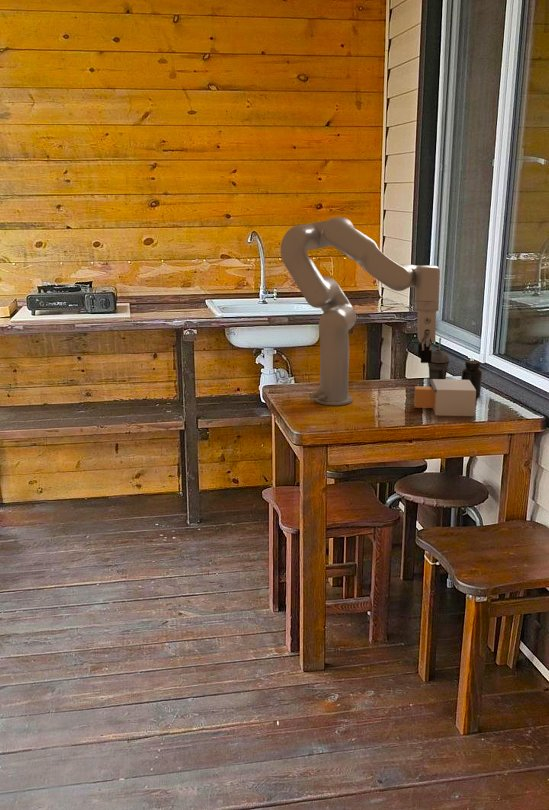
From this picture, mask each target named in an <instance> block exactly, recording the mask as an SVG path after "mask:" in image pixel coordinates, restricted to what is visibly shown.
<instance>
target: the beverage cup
mask: <svg viewBox="0 0 549 810" xmlns="http://www.w3.org/2000/svg"><path fill="white" fill-rule="evenodd" d="M438 339H439V340H438V349H435V350H433V351H432V356H431V363H427V365H428V375H429V376H428V380H429V381H428V382H429V385H428V387H432V386H431V383H430V379H447V371H448V367H449V363H450V360H449V356H448V353H447V352H446V351H444V350H443V349H441V342H442V337H439V338H438Z"/></svg>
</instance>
